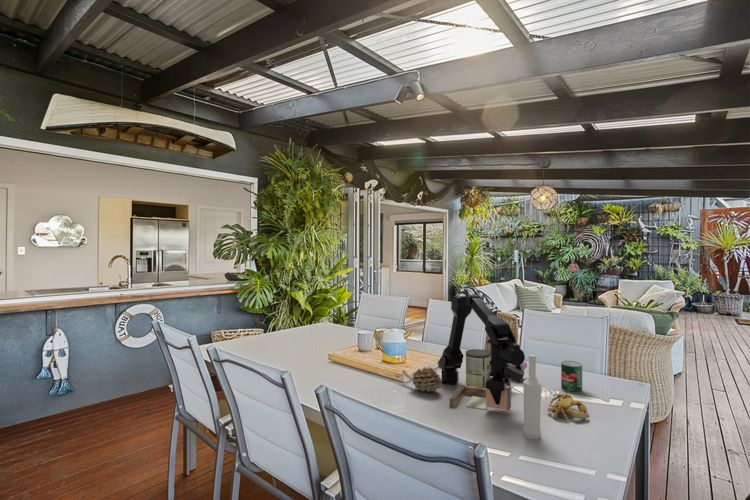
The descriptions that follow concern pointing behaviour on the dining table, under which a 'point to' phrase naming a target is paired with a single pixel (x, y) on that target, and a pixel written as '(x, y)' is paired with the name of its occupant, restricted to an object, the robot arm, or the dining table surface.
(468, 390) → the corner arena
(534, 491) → the dining table surface
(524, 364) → the cupcake
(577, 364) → the canned tomato
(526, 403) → the bottle
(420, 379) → the pine cone
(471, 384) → the coffee can
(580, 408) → the crab model
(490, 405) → the terracotta block
